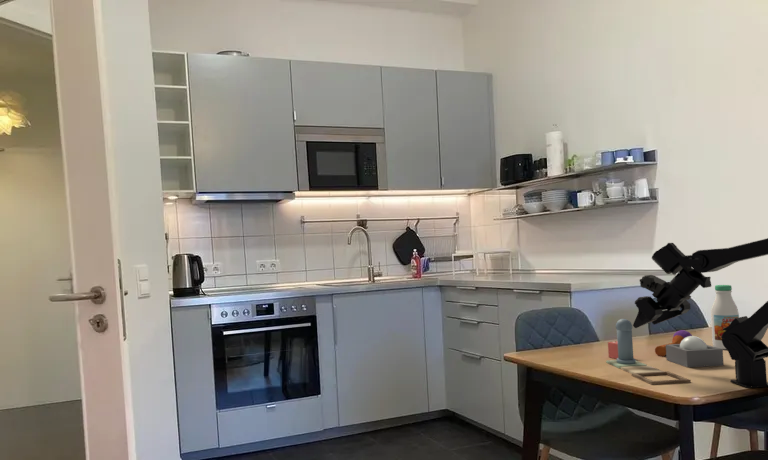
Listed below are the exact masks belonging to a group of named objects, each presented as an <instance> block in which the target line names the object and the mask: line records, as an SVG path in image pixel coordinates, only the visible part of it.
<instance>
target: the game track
mask: <svg viewBox="0 0 768 460" xmlns="http://www.w3.org/2000/svg"><path fill="white" fill-rule="evenodd" d="M605 362H606V364H608V365H611V366H612V367H615V368H618V369H620V370H622V371H624V372H627V373H629V374H630V375H631V376H632V377H633V378H636V379H639V380H641V381H643V382H645V383H647V384H649V385H651V386H652V385H668V384H669V385H670V384H671V385H672V384H683V383H684V384H686V383H691V379H689V378H687V377H684V376H681V375H678V374H676V373H673V372H671V371H666V370H665V371H664V370H661V369H659V368H656V367H654V366H652V365H648V364H647V363H643V362H641V361H639V360H636V363H635V364H619V363H617V359H612V360H611V359H610V360H606V361H605ZM663 375H664V376H665V375H667V376H669V377H672V378H674V379H665V380H663V379H662V380H652V379H650V378H648V377H649V376H663ZM646 376H647V377H646Z"/></svg>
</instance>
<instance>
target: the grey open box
mask: <svg viewBox="0 0 768 460" xmlns="http://www.w3.org/2000/svg"><path fill="white" fill-rule="evenodd" d="M668 344H669V343H668ZM706 345H707V349H697V350H687V349H683V348H680V344H669V345H666V355H665V357H666V361H669V362H670V363H673V364H677V365H679V366H683V367H686V368H698V367H699V368H700V367H716V366H717V367H718V366H725V365H724V349H721V348H717V347H713V345H709V344H706Z"/></svg>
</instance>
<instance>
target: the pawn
mask: <svg viewBox="0 0 768 460" xmlns="http://www.w3.org/2000/svg"><path fill="white" fill-rule="evenodd" d="M615 329H616V341H617V343H618V358H617V359H616V360H617V363H619V364H635V363H636V361H637V360H636V358H634V346H633V344H634V343H633V342H634V341H633V324H632V322H631V321H630V320H629V319H626V318H620V319H618V320H617V322H616V323H615Z"/></svg>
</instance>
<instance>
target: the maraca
mask: <svg viewBox="0 0 768 460" xmlns="http://www.w3.org/2000/svg"><path fill="white" fill-rule="evenodd" d="M688 336H693V334H692V333H691V332H689V331H687V330H685V329H679V330H677V331H676V332H674V333H673V336H672V339H671V341H672V342H671V343H666V344H662V345H658V346H656V347H654V348H655V349H654V352H655V355H657V356H658V357H666V345H669V344H680V343H681V341H682V340H683V339H684V338H686V337H688Z"/></svg>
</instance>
